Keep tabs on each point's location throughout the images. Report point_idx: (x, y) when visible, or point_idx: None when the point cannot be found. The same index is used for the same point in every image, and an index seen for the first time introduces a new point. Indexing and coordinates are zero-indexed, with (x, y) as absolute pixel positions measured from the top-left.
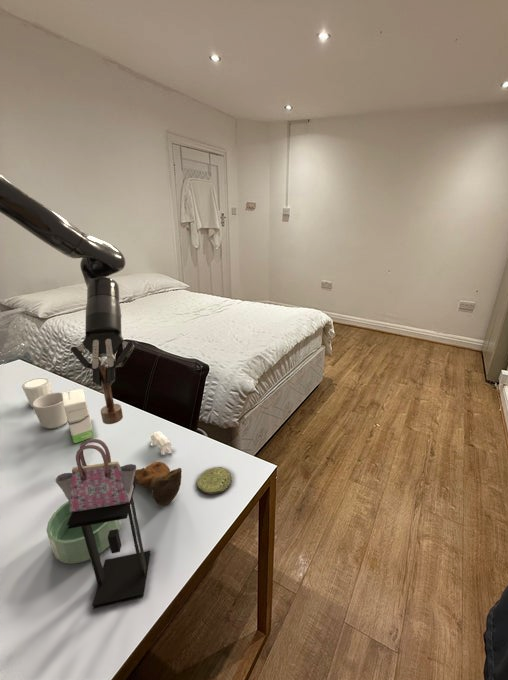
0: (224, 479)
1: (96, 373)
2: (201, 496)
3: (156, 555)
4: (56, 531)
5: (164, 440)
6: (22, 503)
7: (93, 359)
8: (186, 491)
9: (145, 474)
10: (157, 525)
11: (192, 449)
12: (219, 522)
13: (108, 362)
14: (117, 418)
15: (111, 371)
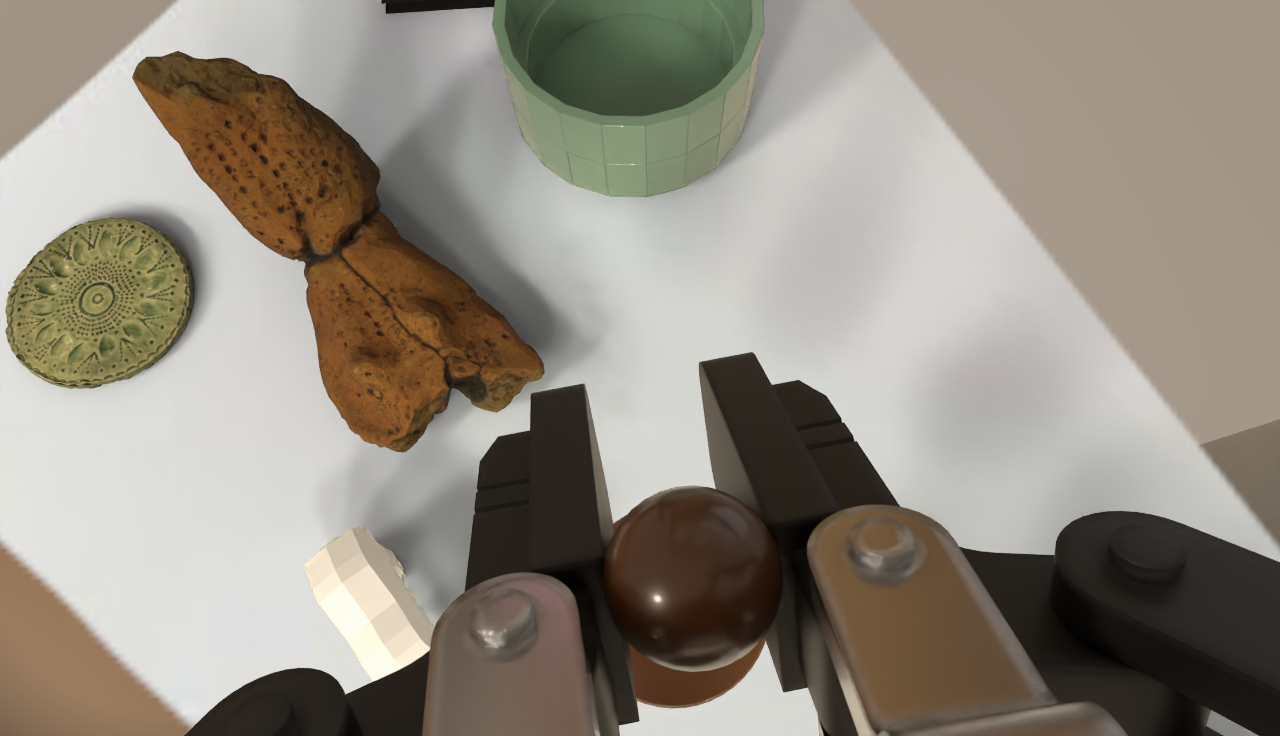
0: (45, 293)
1: (794, 454)
2: (182, 227)
3: (364, 6)
4: (737, 39)
5: (330, 562)
6: (1013, 297)
7: (1031, 704)
8: (252, 264)
9: (429, 301)
10: (373, 114)
11: (205, 585)
12: (122, 94)
13: (563, 673)
14: None
15: (515, 543)
